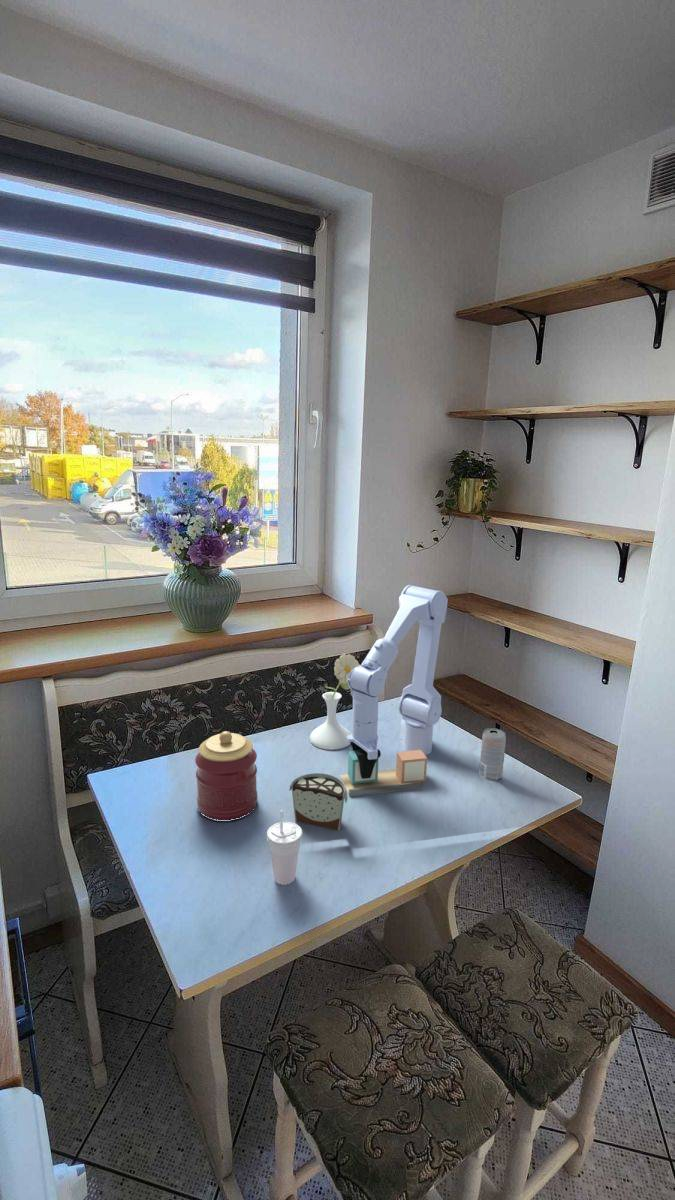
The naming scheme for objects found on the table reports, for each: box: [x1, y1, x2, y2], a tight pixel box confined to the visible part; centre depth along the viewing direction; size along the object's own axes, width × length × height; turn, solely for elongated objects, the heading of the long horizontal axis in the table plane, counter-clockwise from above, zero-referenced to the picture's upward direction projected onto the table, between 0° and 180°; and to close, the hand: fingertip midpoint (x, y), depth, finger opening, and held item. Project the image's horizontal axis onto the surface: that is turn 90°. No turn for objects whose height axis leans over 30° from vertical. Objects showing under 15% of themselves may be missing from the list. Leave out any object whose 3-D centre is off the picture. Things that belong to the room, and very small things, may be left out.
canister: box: [194, 730, 258, 820], centre depth 130 cm, size 13×13×18 cm
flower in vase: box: [309, 653, 360, 751], centre depth 157 cm, size 13×11×25 cm
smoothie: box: [266, 809, 303, 886], centre depth 109 cm, size 6×6×14 cm
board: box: [340, 768, 423, 797], centre depth 141 cm, size 9×17×3 cm, turn 103°
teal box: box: [347, 750, 379, 784], centre depth 139 cm, size 4×6×6 cm
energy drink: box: [478, 727, 507, 783], centre depth 143 cm, size 5×5×12 cm
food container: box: [289, 772, 349, 832], centre depth 126 cm, size 12×6×10 cm, turn 71°
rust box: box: [395, 750, 428, 784], centre depth 141 cm, size 4×6×6 cm
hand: (363, 772), depth 139 cm, fingers closed on teal box, 4 cm apart
